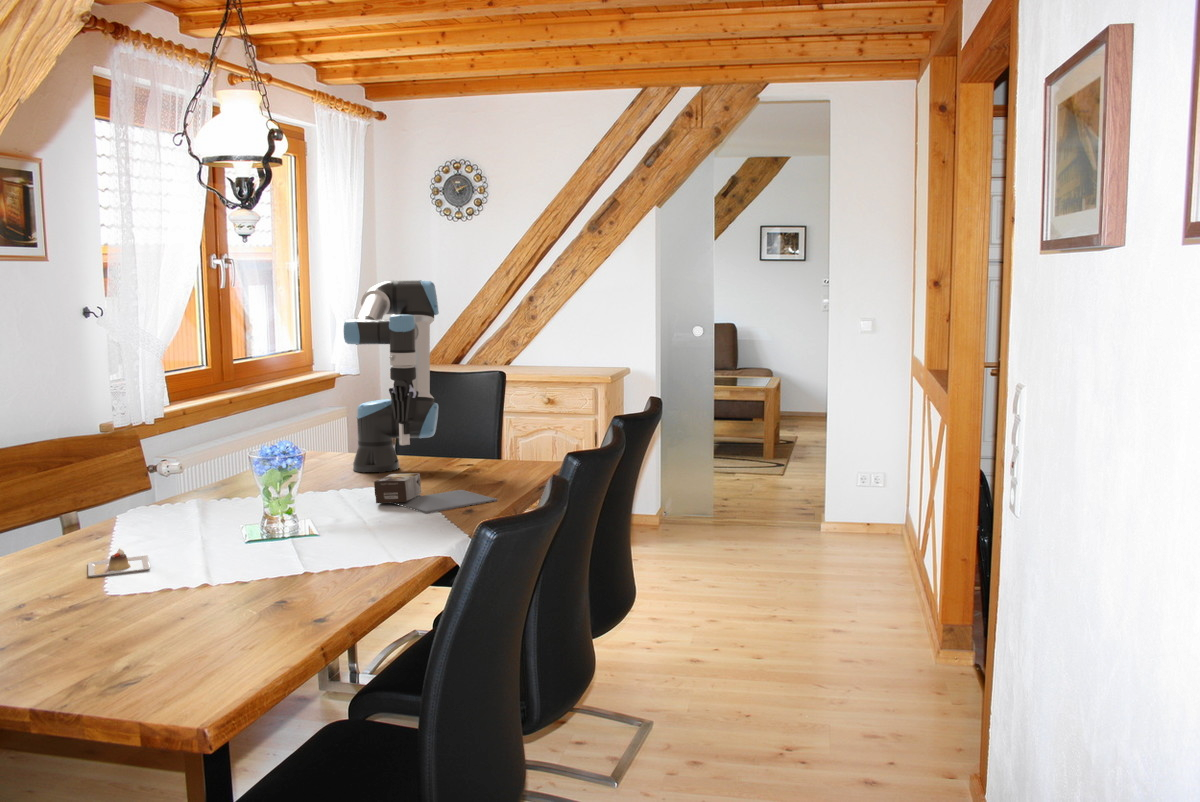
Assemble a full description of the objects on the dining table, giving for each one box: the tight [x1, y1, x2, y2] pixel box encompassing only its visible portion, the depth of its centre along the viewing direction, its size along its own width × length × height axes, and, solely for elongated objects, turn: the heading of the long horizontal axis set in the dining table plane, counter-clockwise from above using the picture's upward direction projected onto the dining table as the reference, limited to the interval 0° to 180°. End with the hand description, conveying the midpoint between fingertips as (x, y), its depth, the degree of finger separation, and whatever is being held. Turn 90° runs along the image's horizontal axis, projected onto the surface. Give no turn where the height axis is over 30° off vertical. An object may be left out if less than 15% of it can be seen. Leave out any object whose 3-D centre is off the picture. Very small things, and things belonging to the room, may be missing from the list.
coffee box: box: [373, 472, 422, 504], centre depth 285 cm, size 9×6×16 cm
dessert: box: [87, 548, 152, 578], centre depth 216 cm, size 12×12×5 cm
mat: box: [395, 489, 498, 514], centre depth 283 cm, size 18×24×1 cm
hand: (404, 444), depth 298 cm, fingers closed
